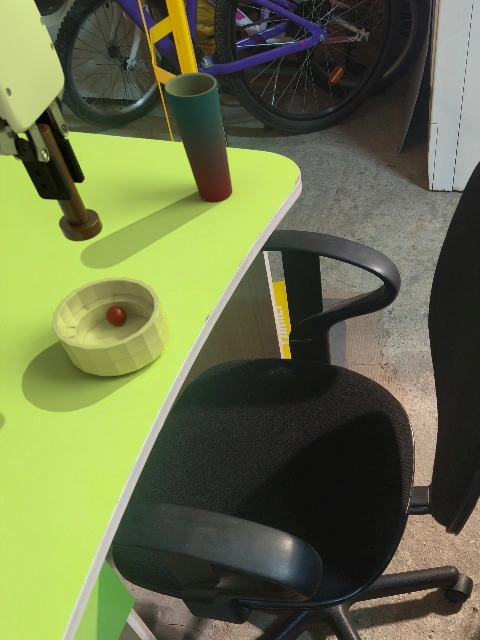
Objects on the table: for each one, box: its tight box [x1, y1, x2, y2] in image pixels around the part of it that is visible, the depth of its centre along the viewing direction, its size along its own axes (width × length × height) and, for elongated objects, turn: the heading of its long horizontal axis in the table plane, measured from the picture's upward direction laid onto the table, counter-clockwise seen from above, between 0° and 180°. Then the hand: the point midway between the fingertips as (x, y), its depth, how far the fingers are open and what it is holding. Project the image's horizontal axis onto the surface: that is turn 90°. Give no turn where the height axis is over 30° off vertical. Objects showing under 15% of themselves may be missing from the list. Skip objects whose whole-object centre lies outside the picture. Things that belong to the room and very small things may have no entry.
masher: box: [24, 124, 103, 242], centre depth 57 cm, size 4×4×10 cm
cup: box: [164, 71, 233, 203], centre depth 83 cm, size 7×7×15 cm
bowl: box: [51, 276, 171, 377], centre depth 70 cm, size 12×12×5 cm
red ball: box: [106, 306, 127, 326], centre depth 72 cm, size 2×2×2 cm
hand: (63, 188), depth 57 cm, fingers closed on masher, 2 cm apart
